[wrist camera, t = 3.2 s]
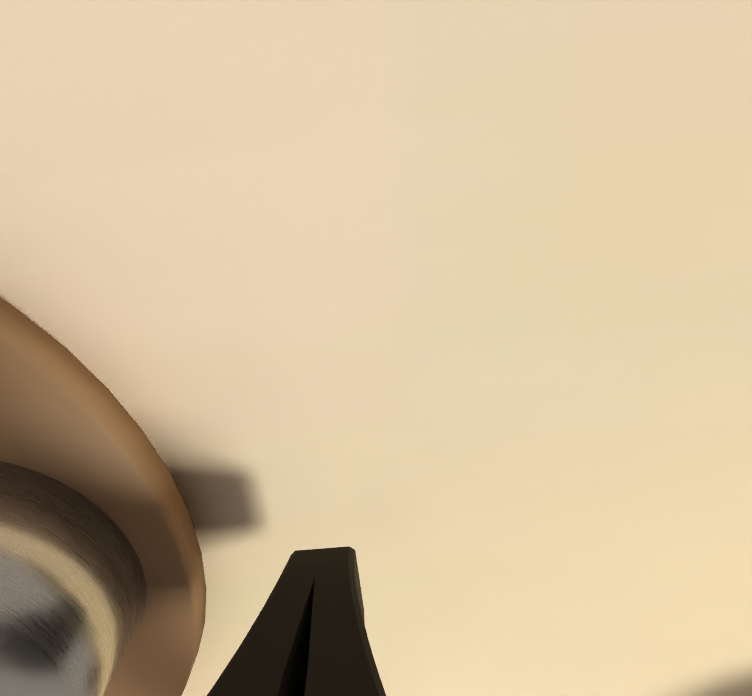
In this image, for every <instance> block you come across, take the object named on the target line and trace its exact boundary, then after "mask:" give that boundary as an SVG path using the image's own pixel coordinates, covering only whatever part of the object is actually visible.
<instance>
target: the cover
mask: <svg viewBox="0 0 752 696" xmlns="http://www.w3.org/2000/svg"><path fill="white" fill-rule="evenodd" d="M146 600H147V585H146V580H145V575H144V571H143V568H142V565H141V563H140V560H139V557H138V555H137V553H136V552H135V550H134V548H133V546H132V544H131V543H130V541H129V540H128V538H127V537H126V536H125V534H124V533H123V532H122V530H121V529H120V528H119V527H118V526H117V525H116V524H115V522H114V521H113V520H112V519H111V518H110V517H109V516H108V515H107V514H106V513H105V512H103V511H102V510H101V509H100V508H99V507H98V506H96V505H95V504H94V503H93V502H91V501H90V500H89V499H87V498H86V497H84V496H83V495H81V494H80V493H79V492H77V491H75V490H74V489H72V488H70V487H68V486H66V485H65V484H63V483H61V482H59V481H57V480H55V479H53V478H51V477H48V476H46V475H44V474H41V473H39V472H36V471H33V470H30V469H27V468H24V467H21V466H18V465H14V464H10V463H6V462H1V461H0V696H103V695H104V693H105V691H106V689H107V687H108V685H109V683H110V681H111V679H112V677H113V676H114V674H115V672H116V670H117V668H118V666H119V664H120V662H121V660H122V658H123V656H124V654H125V652H126V650H127V648H128V646H129V644H130V642H131V640H132V638H133V636H134V634H135V632H136V630H137V629H138V627H139V625H140V623H141V620H142V617H143V614H144V612H145V606H146Z"/></svg>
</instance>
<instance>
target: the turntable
mask: <svg viewBox="0 0 752 696" xmlns="http://www.w3.org/2000/svg"><path fill="white" fill-rule="evenodd" d="M0 461H1V462H6V463H10V464H14V465H18V466H21V467H24V468H27V469H30V470H33V471H36V472H39V473H41V474H44V475H46V476H48V477H51V478H53V479H55V480H57V481H59V482H61V483H63V484H65V485H66V486H68V487H70V488H72V489H74V490H75V491H77V492H79V493H80V494H81V495H83V496H84V497H86V498H87V499H89V500H90V501H91V502H93V503H94V504H95V505H96V506H98V507H99V508H100V509H101V510H102V511H103V512H105V513H106V514H107V515H108V516H109V517H110V518H111V519H112V520H113V521H114V522H115V524H116V525H117V526H118V527H119V528H120V529H121V530H122V532H123V533H124V534H125V536H126V537H127V538H128V540H129V541H130V543H131V544H132V546H133V548H134V550H135V552H136V553H137V555H138V557H139V560H140V563H141V565H142V568H143V571H144V575H145V580H146V585H147V600H146V606H145V612H144V614H143V617H142V620H141V623H140V625H139V627H138V629H137V630H136V632H135V634H134V636H133V638H132V640H131V642H130V644H129V646H128V648H127V650H126V652H125V654H124V656H123V658H122V660H121V662H120V664H119V666H118V668H117V670H116V672H115V674H114V676H113V677H112V679H111V681H110V683H109V685H108V687H107V689H106V691H105V693H104V695H103V696H181V695H182V693H183V691H184V689H185V686H186V684H187V681H188V678H189V675H190V673H191V670H192V667H193V664H194V662H195V659H196V656H197V653H198V650H199V645H200V641H201V637H202V632H203V628H204V624H205V606H206V584H205V576H204V569H203V562H202V554H201V550H200V547H199V544H198V540H197V537H196V534H195V530H194V527H193V524H192V521H191V517H190V514H189V512H188V510H187V508H186V506H185V503H184V501H183V499H182V497H181V495H180V493H179V491H178V489H177V487H176V484H175V482H174V480H173V478H172V476H171V474H170V472H169V471H168V469H167V468H166V466H165V464H164V463H163V461H162V460H161V458H160V457H159V455H158V454H157V452H156V450H155V449H154V447H153V446H152V444H151V443H150V441H149V440H148V438H147V436H146V435H145V433H144V432H143V430H142V429H141V428H140V427H139V426H138V424H137V423H136V422H135V421H134V420H133V418H132V417H131V416H130V415H129V414H128V412H127V411H126V410H125V409H124V408H123V406H122V405H121V404H120V403H119V401H118V400H117V399H116V398H115V397H114V395H113V394H112V393H111V392H110V391H109V389H108V388H107V387H106V386H105V385H104V384H103V383H102V382H101V381H99V380H98V379H97V378H96V377H95V376H94V375H93V374H92V373H91V372H90V371H89V370H88V369H87V368H86V367H85V366H84V365H83V364H82V363H81V362H80V361H79V360H78V359H77V358H76V357H75V356H74V355H73V354H72V353H71V352H70V351H69V350H68V349H67V348H65V347H64V346H63V345H62V344H61V343H59V342H58V341H57V340H56V339H54V338H53V337H52V336H50V335H49V334H48V333H47V332H45V331H44V330H43V329H42V328H40V327H39V326H38V325H36V324H35V323H34V322H33V321H31V320H30V319H29V318H28V317H26V316H25V315H24V314H23V313H21V312H20V311H19V310H17V309H16V308H15V307H14V306H12V305H11V304H9V303H7V302H6V301H4V300H3V299H1V298H0Z"/></svg>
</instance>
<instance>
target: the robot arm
mask: <svg viewBox="0 0 752 696" xmlns="http://www.w3.org/2000/svg"><path fill="white" fill-rule="evenodd" d="M207 696H386V694H385V691H384V688H383V685H382V682H381V680H380V676H379V673H378V670H377V667H376V664H375V661H374V658H373V655H372V651H371V648H370V644H369V641H368V637H367V633H366V629H365V625H364V607H363V601H362V594H361V587H360V580H359V574H358V567H357V560H356V553H355V550H354V549H352V548H351V547H338V548H325V549H312V550H300V551H295V552H294V553H293V554H292V555H291V556H290V558H289V560H288V562H287V564H286V566H285V568H284V570H283V572H282V574H281V576H280V578H279V580H278V582H277V584H276V585H275V587H274V589H273V591H272V593H271V594H270V596H269V598H268V600H267V602H266V603H265V605H264V607H263V609H262V610H261V612H260V614H259V615H258V617H257V619H256V620H255V622H254V624H253V625H252V627H251V629H250V630H249V632H248V634H247V635H246V637H245V639H244V640H243V642H242V644H241V645H240V647H239V648H238V650H237V651H236V653H235V654H234V656H233V658H232V659H231V661H230V662H229V664H228V665H227V667H226V668H225V670H224V671H223V673H222V674H221V676H220V677H219V679H218V680H217V682H216V683H215V685H214V686H213V688H212V689H211V690H210V692H209V693H208V695H207Z"/></svg>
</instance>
